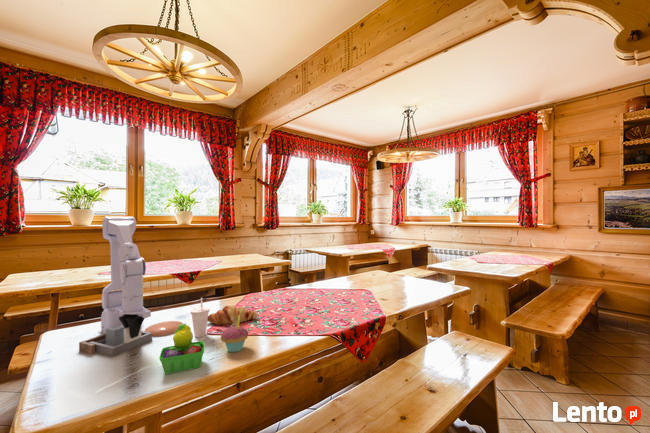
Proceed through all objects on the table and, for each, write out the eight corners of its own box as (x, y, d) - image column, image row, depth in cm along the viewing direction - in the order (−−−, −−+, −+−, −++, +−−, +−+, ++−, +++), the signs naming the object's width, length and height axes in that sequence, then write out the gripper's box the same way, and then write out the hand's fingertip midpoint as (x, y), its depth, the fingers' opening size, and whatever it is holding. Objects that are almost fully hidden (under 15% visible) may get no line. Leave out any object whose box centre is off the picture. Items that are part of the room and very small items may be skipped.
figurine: (242, 335, 103) (241, 318, 104) (229, 337, 101) (228, 320, 102) (241, 332, 108) (240, 316, 109) (229, 334, 106) (228, 318, 107)
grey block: (105, 346, 95) (105, 328, 95) (119, 341, 99) (119, 324, 99) (114, 348, 93) (114, 330, 93) (127, 343, 97) (127, 325, 98)
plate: (136, 334, 105) (136, 330, 105) (167, 322, 117) (167, 319, 117) (161, 339, 100) (161, 336, 100) (190, 326, 112) (190, 323, 112)
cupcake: (253, 345, 95) (253, 309, 95) (237, 357, 87) (237, 318, 87) (232, 341, 98) (232, 307, 98) (215, 352, 90) (215, 315, 90)
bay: (79, 351, 91) (79, 342, 91) (128, 333, 106) (128, 325, 106) (91, 355, 89) (91, 345, 89) (140, 335, 103) (140, 327, 103)
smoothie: (202, 340, 100) (202, 300, 100) (186, 338, 101) (186, 299, 101) (213, 333, 106) (213, 295, 106) (198, 331, 107) (198, 294, 107)
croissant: (257, 324, 124) (257, 306, 127) (258, 320, 115) (258, 301, 119) (205, 329, 118) (206, 309, 122) (202, 325, 109) (204, 304, 113)
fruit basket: (158, 378, 76) (158, 336, 76) (162, 362, 84) (163, 324, 84) (204, 368, 80) (204, 329, 81) (204, 355, 89) (204, 319, 89)
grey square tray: (87, 349, 92) (87, 328, 92) (127, 334, 104) (127, 315, 104) (112, 356, 87) (112, 334, 87) (152, 340, 99) (152, 320, 99)
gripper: (105, 296, 92) (105, 338, 92) (135, 301, 87) (135, 345, 87) (127, 291, 99) (127, 330, 99) (156, 295, 94) (156, 336, 93)
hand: (132, 336), depth 93 cm, fingers closed on grey square tray
